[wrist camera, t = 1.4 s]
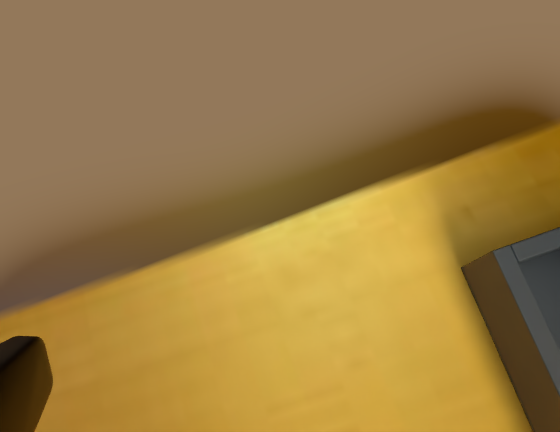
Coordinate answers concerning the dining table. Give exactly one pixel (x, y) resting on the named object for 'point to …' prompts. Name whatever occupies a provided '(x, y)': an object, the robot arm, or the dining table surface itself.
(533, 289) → the bin
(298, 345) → the dining table surface
